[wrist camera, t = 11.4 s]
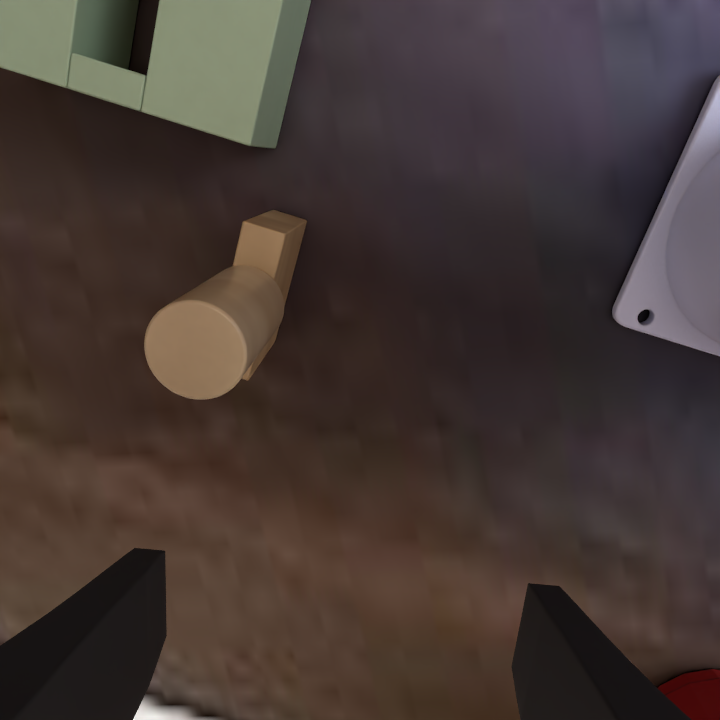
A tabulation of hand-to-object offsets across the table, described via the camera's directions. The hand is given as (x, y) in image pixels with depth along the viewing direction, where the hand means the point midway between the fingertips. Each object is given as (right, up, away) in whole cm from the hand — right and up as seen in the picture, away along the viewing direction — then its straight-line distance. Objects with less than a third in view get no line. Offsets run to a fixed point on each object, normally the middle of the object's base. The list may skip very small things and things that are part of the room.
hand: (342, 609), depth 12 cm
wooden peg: (-3, +8, +9) cm, 12 cm away
